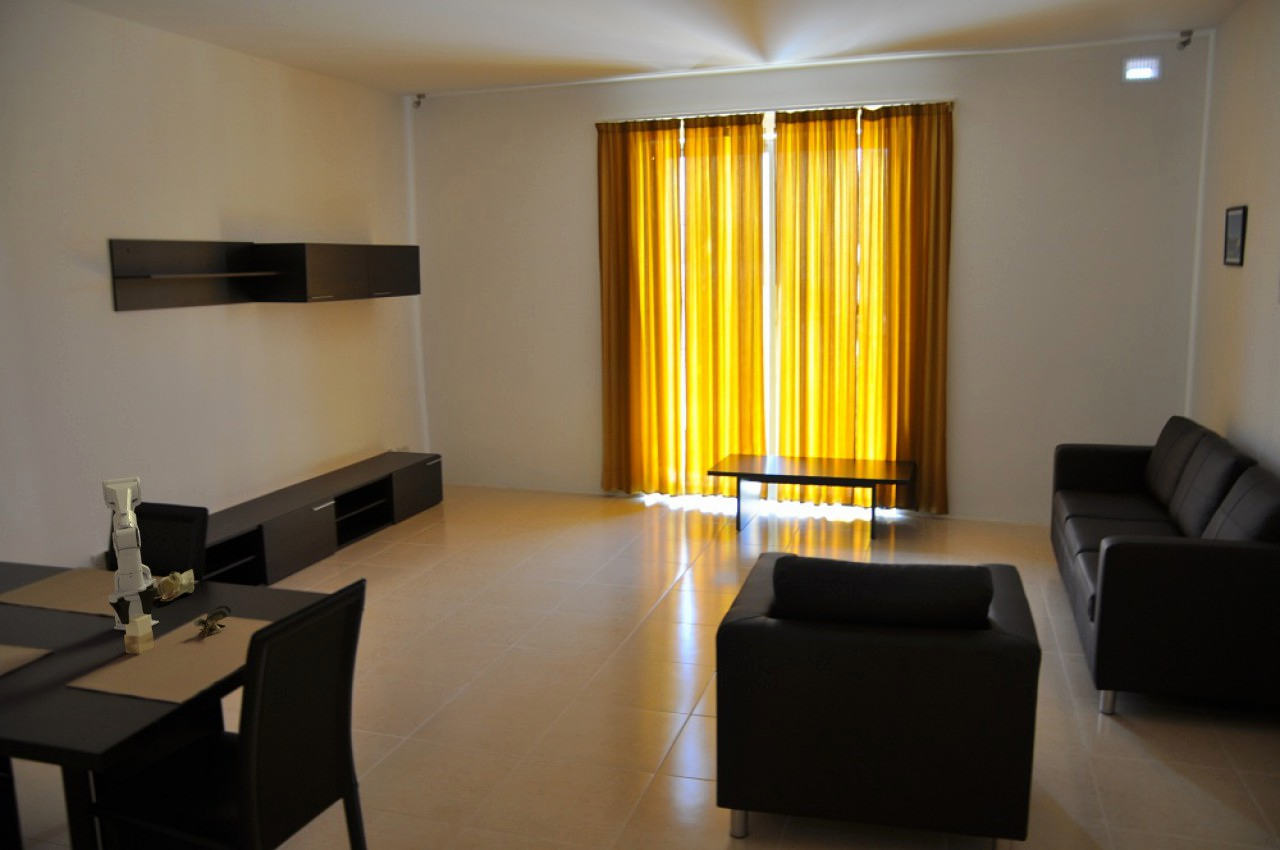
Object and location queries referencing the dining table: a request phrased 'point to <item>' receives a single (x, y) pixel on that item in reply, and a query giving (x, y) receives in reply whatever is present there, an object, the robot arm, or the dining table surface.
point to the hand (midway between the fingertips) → (136, 618)
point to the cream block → (138, 625)
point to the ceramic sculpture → (175, 585)
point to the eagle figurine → (213, 619)
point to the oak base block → (139, 643)
